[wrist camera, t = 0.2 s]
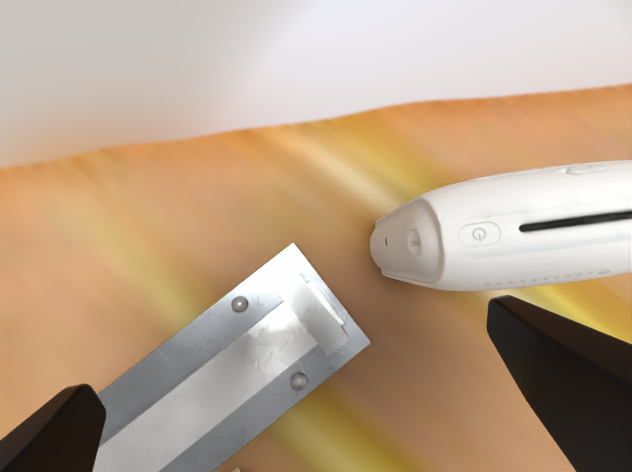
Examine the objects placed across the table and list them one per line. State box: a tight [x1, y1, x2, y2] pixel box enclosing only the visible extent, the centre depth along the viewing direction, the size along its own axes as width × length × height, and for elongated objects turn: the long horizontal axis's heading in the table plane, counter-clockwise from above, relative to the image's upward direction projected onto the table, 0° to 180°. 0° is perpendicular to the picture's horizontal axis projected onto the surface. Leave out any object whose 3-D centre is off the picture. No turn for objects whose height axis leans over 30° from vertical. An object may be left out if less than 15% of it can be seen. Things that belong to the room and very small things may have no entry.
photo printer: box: [370, 160, 632, 291], centre depth 16 cm, size 10×4×12 cm, turn 97°
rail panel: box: [93, 243, 371, 472], centre depth 19 cm, size 8×22×4 cm, turn 128°
